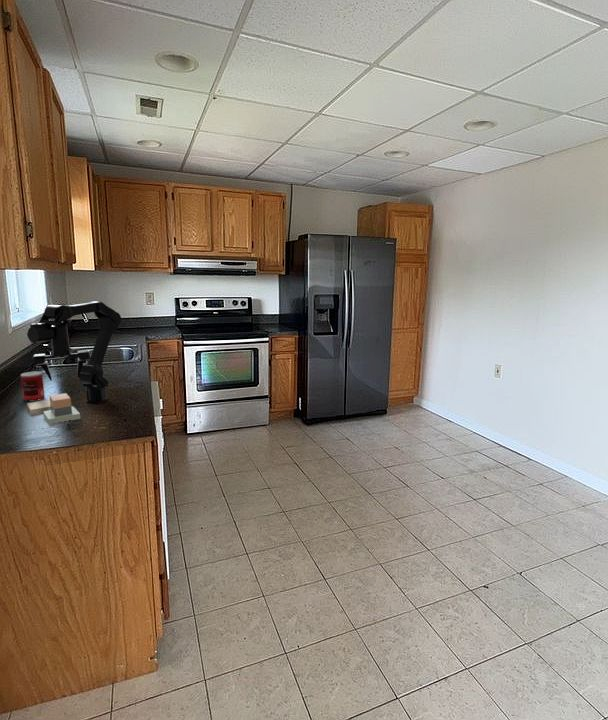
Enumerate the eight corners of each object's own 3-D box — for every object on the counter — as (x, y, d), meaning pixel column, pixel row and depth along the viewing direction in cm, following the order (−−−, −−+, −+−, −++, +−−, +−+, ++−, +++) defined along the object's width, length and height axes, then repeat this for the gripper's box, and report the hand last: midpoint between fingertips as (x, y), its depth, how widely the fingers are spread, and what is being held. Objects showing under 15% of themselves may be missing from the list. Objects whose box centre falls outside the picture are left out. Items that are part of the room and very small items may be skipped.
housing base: (50, 411, 156) (50, 403, 155) (67, 408, 159) (66, 400, 158) (55, 416, 150) (54, 408, 149) (72, 413, 153) (71, 405, 152)
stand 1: (59, 403, 172) (58, 398, 171) (64, 409, 164) (63, 404, 164) (27, 408, 165) (26, 403, 165) (31, 414, 157) (30, 409, 157)
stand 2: (43, 416, 156) (43, 411, 155) (73, 411, 162) (73, 406, 162) (49, 424, 147) (48, 419, 147) (80, 418, 154) (79, 413, 153)
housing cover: (50, 403, 155) (49, 395, 154) (66, 400, 158) (66, 393, 158) (54, 408, 149) (53, 400, 148) (71, 405, 152) (70, 398, 152)
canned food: (40, 394, 183) (37, 370, 181) (47, 398, 178) (44, 373, 176) (20, 398, 177) (17, 373, 175) (27, 402, 172) (24, 376, 170)
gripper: (86, 333, 168) (91, 371, 171) (31, 337, 159) (37, 377, 163) (87, 337, 159) (92, 377, 162) (29, 342, 150) (35, 384, 153)
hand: (64, 378), depth 160 cm, fingers open, 9 cm apart
